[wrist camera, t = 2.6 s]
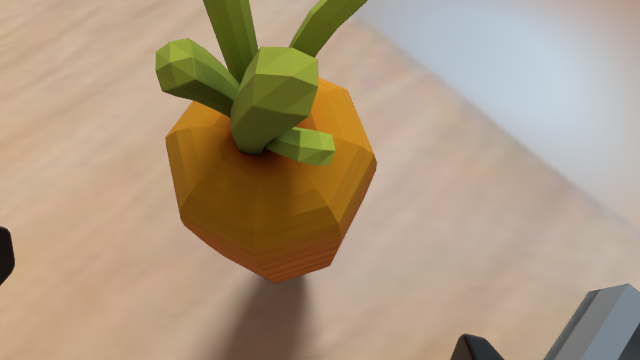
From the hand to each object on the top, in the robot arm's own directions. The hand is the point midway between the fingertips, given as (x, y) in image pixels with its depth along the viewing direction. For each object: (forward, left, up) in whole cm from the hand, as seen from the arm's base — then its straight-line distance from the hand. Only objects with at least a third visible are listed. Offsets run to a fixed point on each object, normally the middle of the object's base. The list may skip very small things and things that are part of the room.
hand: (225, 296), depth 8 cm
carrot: (+3, +2, -11) cm, 11 cm away
